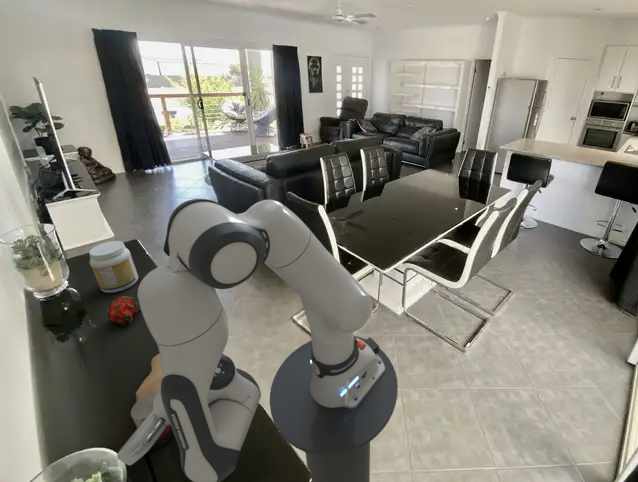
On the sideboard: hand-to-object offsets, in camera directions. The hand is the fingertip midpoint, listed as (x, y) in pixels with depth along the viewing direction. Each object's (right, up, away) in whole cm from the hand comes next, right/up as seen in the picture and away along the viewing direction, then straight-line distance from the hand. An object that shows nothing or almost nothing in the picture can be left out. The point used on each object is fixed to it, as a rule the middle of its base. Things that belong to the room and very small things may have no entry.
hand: (150, 419), depth 74 cm
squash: (-6, -1, +13) cm, 14 cm away
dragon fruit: (-34, +10, +36) cm, 50 cm away
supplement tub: (-49, +18, +53) cm, 74 cm away
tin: (+1, -5, +2) cm, 6 cm away
